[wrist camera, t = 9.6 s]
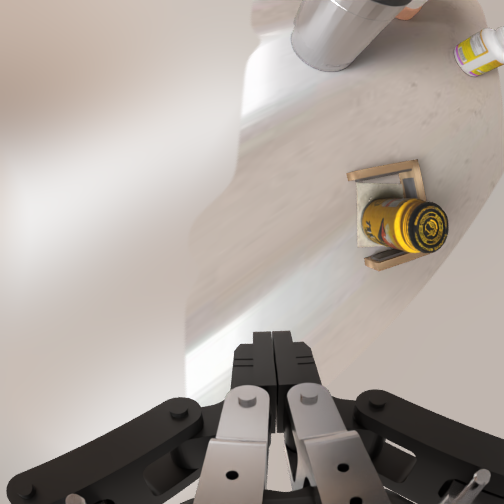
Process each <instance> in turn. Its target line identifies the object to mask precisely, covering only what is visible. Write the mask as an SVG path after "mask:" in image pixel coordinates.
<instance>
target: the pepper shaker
mask: <svg viewBox="0 0 504 504" xmlns="http://www.w3.org/2000/svg"><path fill="white" fill-rule="evenodd" d="M427 1H428V0H412V1H411V2H410V3H409V4H408V5H407V6H406V7H405V8H404V9H403V10H402V11H401V12H400V13H399V14H398V15H397V16H396V17H395V18H398V19H401V20H409V19H411V18H412V17H413V16H414V15H415V14H416V13H418V12H419V11H420V9H421V8H422V5H423V4H424V3H426V2H427Z"/></svg>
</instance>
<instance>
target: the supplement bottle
mask: <svg viewBox="0 0 504 504" xmlns="http://www.w3.org/2000/svg"><path fill="white" fill-rule="evenodd" d="M454 55H455V59H456V61H457V63H458V65H459V66H460V67H461V69H462V70H463V71H464V72H465V73H466V74H468V75H470V76H473V77H476V76H479V75H481V74H483V73H485V72H488V71H490V70H492V69H495V68H497V67H499V66H501V65H504V26H501V27H499V28H497V30H494V29H492V28H485V29H483V30H481V31H480V32H478V33H476V34H475V35H473V36H471V37H470V38H468V39H466V40H465V41H463V42H461V43H460V44H458V45H457V46H456V47H455V49H454Z"/></svg>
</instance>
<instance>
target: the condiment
mask: <svg viewBox="0 0 504 504" xmlns="http://www.w3.org/2000/svg"><path fill="white" fill-rule="evenodd" d="M356 190H357V245H358V248H360V247H377V246H387V247H391V248H394V249H399V250H402V251H405V252H410V253H419V252H422V253H433V252H435V251H437V250H438V249H440V248H441V246H442V245H443V244H444V243H445V240H446V238H447V234H448V219H447V216H446V214H445V212H444V211H443V210H442V208H441V207H440V206H438V205H437V204H435V203H433V202H425V201H423V200H421V199H416V198H406V199H405V198H404V199H403V187H402V184H382V183H356ZM371 197H372V198H371ZM370 198H371V199H370ZM369 200H370V202H368V201H369Z"/></svg>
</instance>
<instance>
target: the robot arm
mask: <svg viewBox="0 0 504 504" xmlns="http://www.w3.org/2000/svg"><path fill="white" fill-rule="evenodd" d="M411 1H412V0H302V2H301V5H300V7H299V10H298V12H297V15H296V17H295V20H294V25H295V27H294V30H293V32H292V36H291V43H292V46H293V49H294V51H295V52H296V54H297V55H298V56H299V58H300V59H301V60H302V61H304V62H305V63H306V64H308V65H310V66H311V67H313V68H316V69H319V70H322V71H332V72H334V71H339V70H342V69H344V68H346V67H347V66H348V65H350V64H351V62H352V61H353V60H354V59H355V58H356V57H357V56H358V55H359V54H360V53H361V52H362V51H363V50H364V49H365V48H366V47H367V46H368V45H369V44H370V42H371V41H372V40H373V39H374V38H375V37H376V36H377V35H378V34H379V33H380V32H381V31H382V30H383V29H384V28H385V27H386V26H387V25H388V24H389V23H390V22H391V21H392V20H393V19H394V18H395V17H396V16H397V15H398V14H399V13H400V12H401V11H402V10H403V9H404V8H405V7H406V6H407V5H408V4H409V3H410V2H411ZM276 425H277V433H284V438H285V440H284V452H285V457H286V462H287V466H288V471H289V476H290V480H291V485H292V491H291V492H279V491H272V490H266V489H267V473H268V455H269V446H270V444H271V433H275V426H276ZM386 439H388V440H389V441H391V442H393V443H395V444H398V445H399V446H402V447H404V448H405V449H407V450H410V451H412V452H413V453H414V454H415V456H416V457H414V456H412V455H410V454H408V453H406V452H404V451H402V450H400V449H398V448H396V447H394V446H392V445H390V444H388V443H386V442H385V440H386ZM199 477H200V479H199V483H198V487H197V490H196V494H195V498H193V499H190V500H187V501H185V502H183V503H180V504H415V503H413V502H416V503H417V504H504V439H501V438H498V437H495V436H493V435H490V434H488V433H485V432H482V431H479V430H477V429H474V428H472V427H469V426H466V425H464V424H461V423H459V422H456V421H454V420H451V419H449V418H446V417H444V416H442V415H439V414H436V413H434V412H432V411H430V410H427V409H425V408H423V407H420V406H418V405H416V404H413V403H411V402H409V401H407V400H404V399H402V398H400V397H397V396H395V395H393V394H391V393H389V392H386V391H383V390H368V391H365V392H363V393H361V394H360V395H359V396H358V397H357V399H356V401H354V400H344V399H339V398H335V397H333V396H331V394H330V392H329V390H327V388H325V387H324V386H322V384H321V380H320V377H319V374H318V371H317V367H316V364H315V361H314V358H313V355H312V351H311V348H310V347H309V346H307V345H306V344H305V343H304V342H293V341H292V337H291V332H290V331H272V337H271V332H253V344H240V345H239V346H238V347H237V348H236V350H235V351H234V360H233V370H232V380H231V390H230V391H229V392H228V393H227V395H226V397H225V400H223V401H222V402H220V403H218V404H215V405H211V406H206V407H200V405H199V404H198V403H197V402H196V401H194V400H192V399H189V398H182V397H179V398H172V399H169V400H167V401H165V402H163V403H161V404H160V405H158V406H156V407H154V408H153V409H151V410H149V411H147V412H146V413H144V414H142V415H140V416H139V417H137V418H135V419H133V420H131V421H129V422H128V423H125V424H124V425H122V426H120V427H118V428H116V429H114V430H112V431H110V432H109V433H107V434H105V435H103V436H101V437H99V438H97V439H95V440H93V441H91V442H89V443H87V444H85V445H83V446H81V447H78V448H76V449H74V450H72V451H70V452H68V453H66V454H64V455H62V456H59V457H57V458H55V459H53V460H50V461H48V462H46V463H44V464H41V465H39V466H37V467H34V468H32V469H30V470H27V471H25V472H22V473H20V474H18V475H16V476H14V477H13V478H12V479H11V480H10V481H9V483H8V485H7V497H8V499H9V501H10V502H11V504H163V503H164V502H166V501H167V500H169V499H170V498H172V497H173V496H175V495H176V494H177V493H179V492H180V491H182V490H183V489H185V488H186V487H187V486H189V485H190V484H191V483H193V482H194V481H195V480H197V479H198V478H199ZM383 486H385V487H386V488H388V489H390V490H392V491H394V492H392V491H390V490H388V489H384V487H383ZM395 492H396V493H398V494H400V495H401V496H400V495H398V494H396V493H395ZM402 496H403V497H402ZM404 497H405V498H408V499H409V500H411V501H413V502H411V501H409V500H407V499H405V498H404Z"/></svg>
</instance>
